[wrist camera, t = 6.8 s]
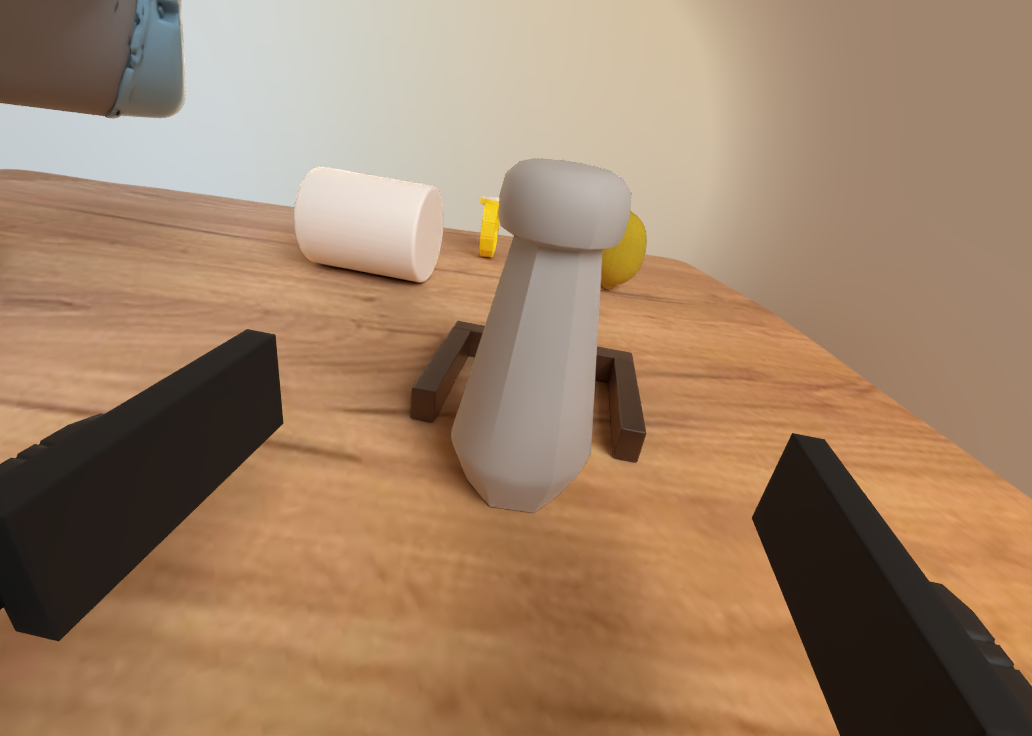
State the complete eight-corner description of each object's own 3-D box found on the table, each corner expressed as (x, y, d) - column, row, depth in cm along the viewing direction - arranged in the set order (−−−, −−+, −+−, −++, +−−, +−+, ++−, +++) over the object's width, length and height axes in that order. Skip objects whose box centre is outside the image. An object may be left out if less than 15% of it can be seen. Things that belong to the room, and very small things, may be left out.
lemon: (629, 303, 46) (652, 216, 42) (572, 289, 47) (589, 203, 44) (638, 289, 51) (659, 208, 47) (586, 276, 52) (602, 197, 48)
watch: (497, 263, 52) (504, 205, 49) (470, 259, 52) (476, 200, 49) (502, 250, 57) (509, 196, 54) (478, 246, 57) (483, 192, 54)
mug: (412, 294, 40) (416, 192, 36) (295, 272, 41) (289, 169, 37) (452, 259, 51) (459, 177, 47) (359, 242, 51) (359, 160, 48)
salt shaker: (424, 501, 20) (450, 150, 14) (474, 427, 25) (508, 146, 19) (566, 547, 19) (660, 187, 13) (588, 460, 24) (663, 173, 18)
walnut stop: (410, 418, 25) (411, 387, 24) (454, 345, 33) (457, 320, 32) (637, 463, 24) (646, 432, 23) (625, 377, 32) (632, 352, 31)
